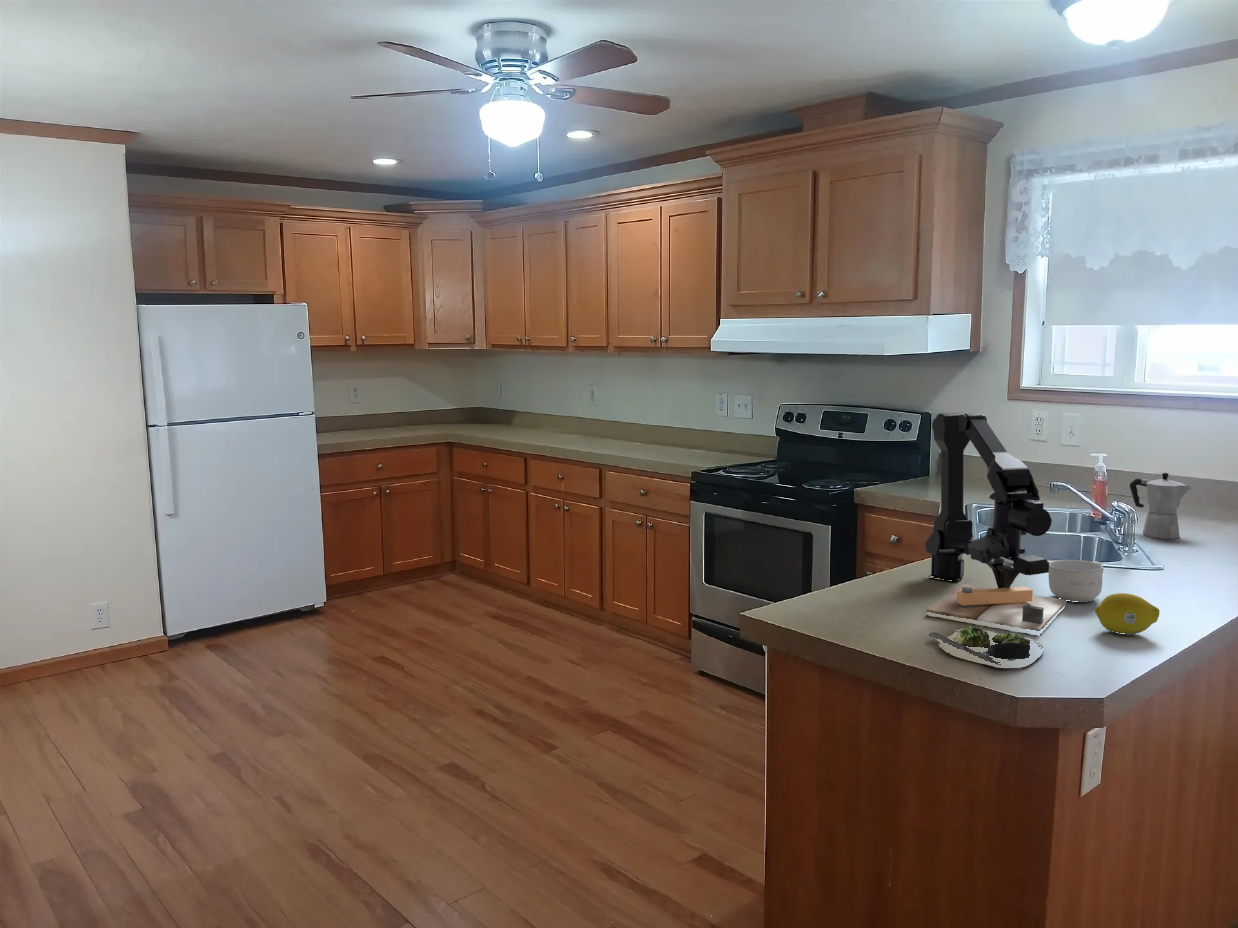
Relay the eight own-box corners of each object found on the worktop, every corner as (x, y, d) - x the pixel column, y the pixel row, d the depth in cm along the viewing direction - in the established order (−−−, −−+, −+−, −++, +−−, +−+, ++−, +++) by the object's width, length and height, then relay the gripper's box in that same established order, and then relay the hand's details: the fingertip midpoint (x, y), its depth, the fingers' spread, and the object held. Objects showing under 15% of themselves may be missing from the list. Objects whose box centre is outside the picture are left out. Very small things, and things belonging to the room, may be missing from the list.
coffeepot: (1192, 536, 252) (1197, 473, 250) (1182, 542, 246) (1187, 477, 243) (1132, 528, 263) (1136, 467, 261) (1121, 533, 257) (1125, 471, 254)
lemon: (1091, 635, 174) (1094, 595, 173) (1095, 623, 181) (1098, 585, 180) (1156, 644, 169) (1159, 603, 167) (1158, 632, 175) (1161, 593, 174)
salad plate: (910, 653, 167) (910, 629, 167) (949, 629, 180) (950, 607, 180) (1016, 679, 154) (1018, 653, 154) (1051, 651, 167) (1052, 627, 167)
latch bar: (962, 605, 188) (963, 590, 187) (956, 602, 190) (957, 586, 189) (1032, 601, 189) (1032, 586, 189) (1025, 597, 192) (1025, 582, 191)
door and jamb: (926, 616, 187) (927, 595, 187) (961, 589, 205) (961, 570, 205) (1039, 636, 174) (1040, 614, 173) (1066, 606, 192) (1067, 586, 191)
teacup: (1071, 608, 191) (1073, 572, 189) (1035, 594, 201) (1036, 559, 200) (1124, 602, 194) (1127, 566, 193) (1086, 588, 205) (1088, 554, 203)
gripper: (946, 517, 196) (942, 586, 198) (1010, 538, 178) (1005, 613, 181) (987, 513, 199) (982, 580, 202) (1053, 533, 182) (1047, 606, 185)
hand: (1002, 594), depth 193 cm, fingers closed
